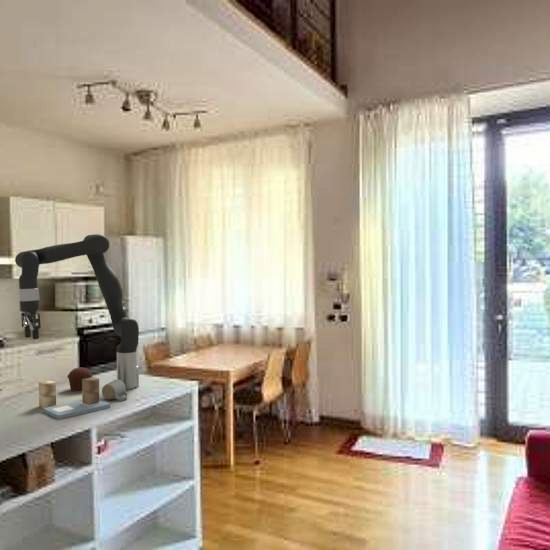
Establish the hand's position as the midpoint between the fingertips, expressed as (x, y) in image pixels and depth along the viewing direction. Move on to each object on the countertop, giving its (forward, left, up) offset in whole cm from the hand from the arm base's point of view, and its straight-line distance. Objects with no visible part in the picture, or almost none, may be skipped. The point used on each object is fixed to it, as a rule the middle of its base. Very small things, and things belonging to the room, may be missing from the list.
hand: (31, 338), depth 222 cm
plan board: (-11, +18, -29) cm, 35 cm away
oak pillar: (-5, +4, -29) cm, 29 cm away
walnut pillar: (-17, +18, -27) cm, 36 cm away
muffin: (-28, -13, -29) cm, 42 cm away
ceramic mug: (-31, +14, -29) cm, 44 cm away
